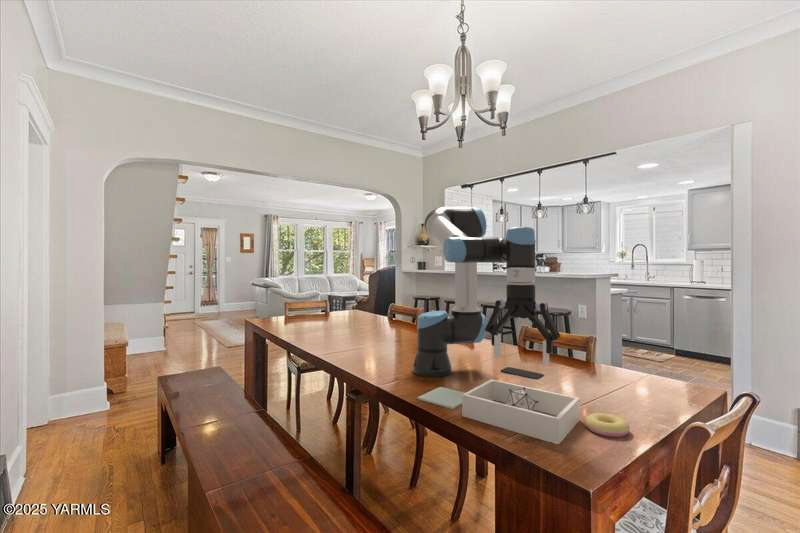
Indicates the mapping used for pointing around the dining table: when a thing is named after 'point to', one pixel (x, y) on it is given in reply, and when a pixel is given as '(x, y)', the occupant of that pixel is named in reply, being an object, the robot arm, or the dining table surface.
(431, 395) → the mat
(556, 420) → the crate
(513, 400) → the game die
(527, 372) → the phone
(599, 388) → the dining table surface
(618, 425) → the donut
